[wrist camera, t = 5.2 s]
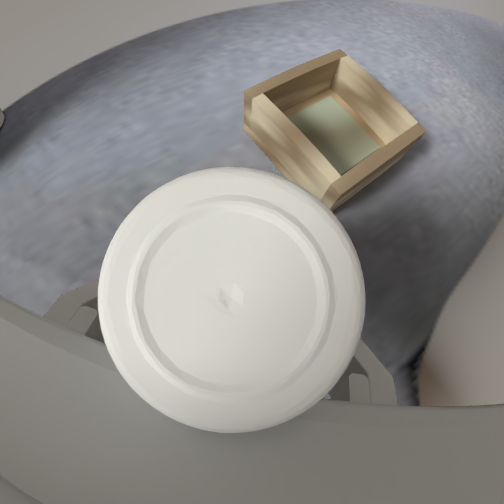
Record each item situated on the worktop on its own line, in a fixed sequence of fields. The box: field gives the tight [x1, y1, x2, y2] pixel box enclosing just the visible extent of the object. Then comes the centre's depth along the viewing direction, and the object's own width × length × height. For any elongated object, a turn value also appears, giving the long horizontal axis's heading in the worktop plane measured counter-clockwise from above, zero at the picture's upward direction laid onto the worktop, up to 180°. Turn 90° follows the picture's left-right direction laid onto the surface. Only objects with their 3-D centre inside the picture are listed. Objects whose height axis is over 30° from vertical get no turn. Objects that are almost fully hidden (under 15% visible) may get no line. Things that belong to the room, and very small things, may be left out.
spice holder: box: [244, 49, 426, 211], centre depth 19 cm, size 9×9×4 cm
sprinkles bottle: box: [98, 167, 366, 433], centre depth 11 cm, size 5×5×14 cm
